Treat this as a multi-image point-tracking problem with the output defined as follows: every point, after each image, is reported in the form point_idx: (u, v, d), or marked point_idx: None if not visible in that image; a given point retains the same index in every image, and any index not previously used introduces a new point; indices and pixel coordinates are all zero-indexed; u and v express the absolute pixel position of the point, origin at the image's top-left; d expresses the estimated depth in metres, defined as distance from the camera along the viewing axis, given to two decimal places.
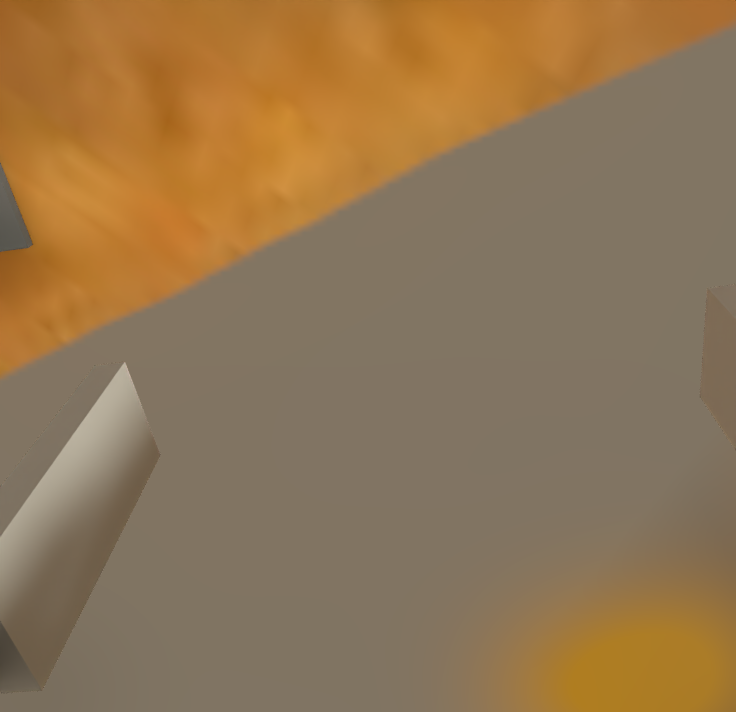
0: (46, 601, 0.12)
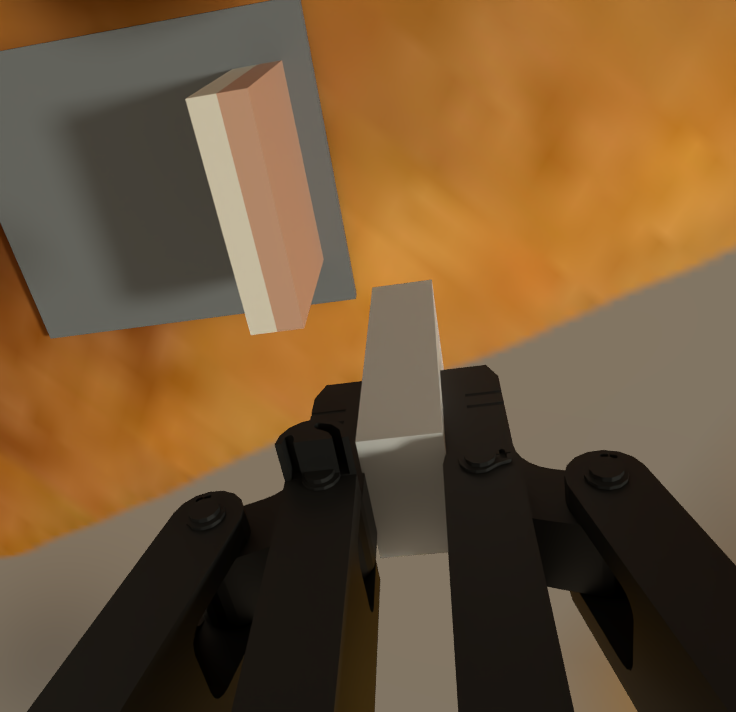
0: None
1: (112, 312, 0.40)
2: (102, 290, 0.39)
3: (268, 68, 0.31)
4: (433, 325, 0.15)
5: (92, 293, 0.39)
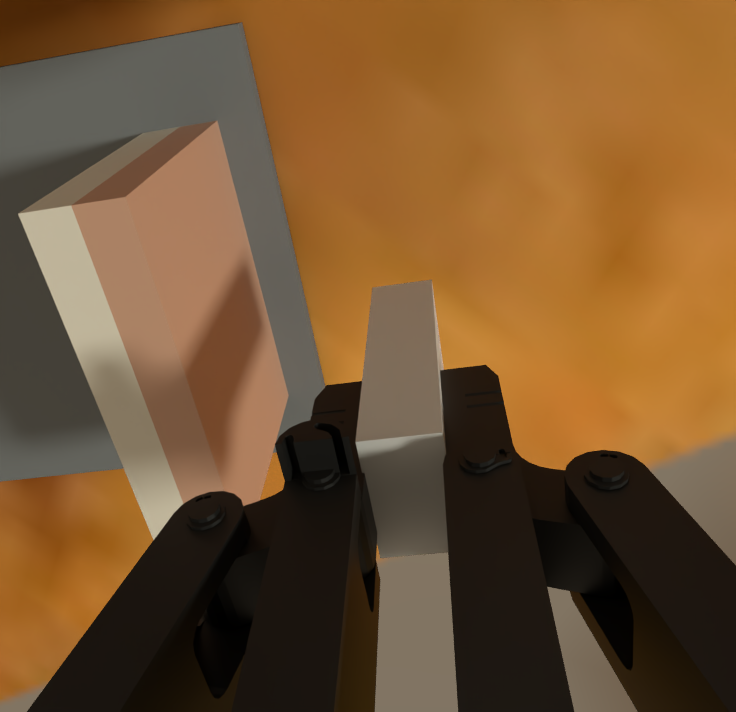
0: None
1: None
2: None
3: (188, 139, 0.19)
4: (433, 325, 0.15)
5: None
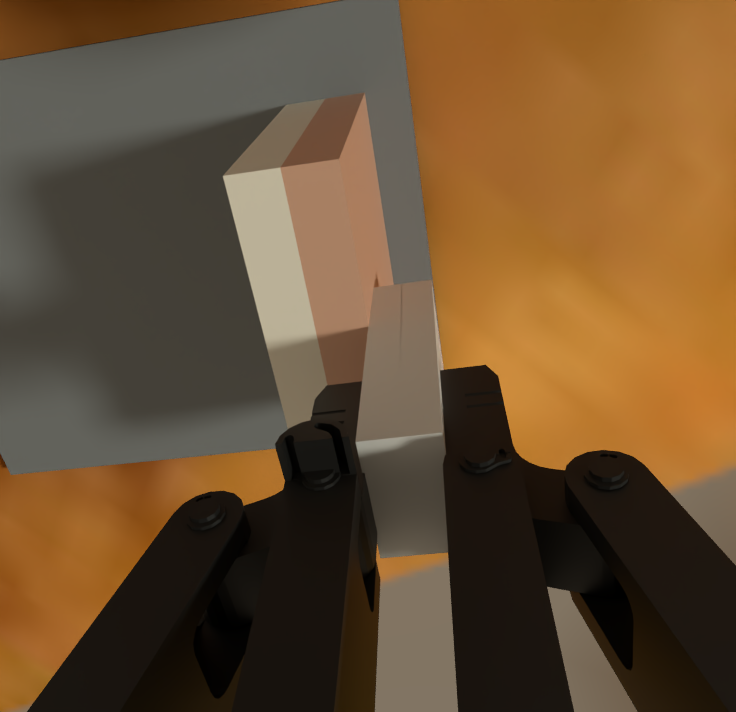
0: None
1: (98, 443, 0.28)
2: (84, 414, 0.27)
3: (351, 109, 0.19)
4: (433, 325, 0.15)
5: (69, 417, 0.27)
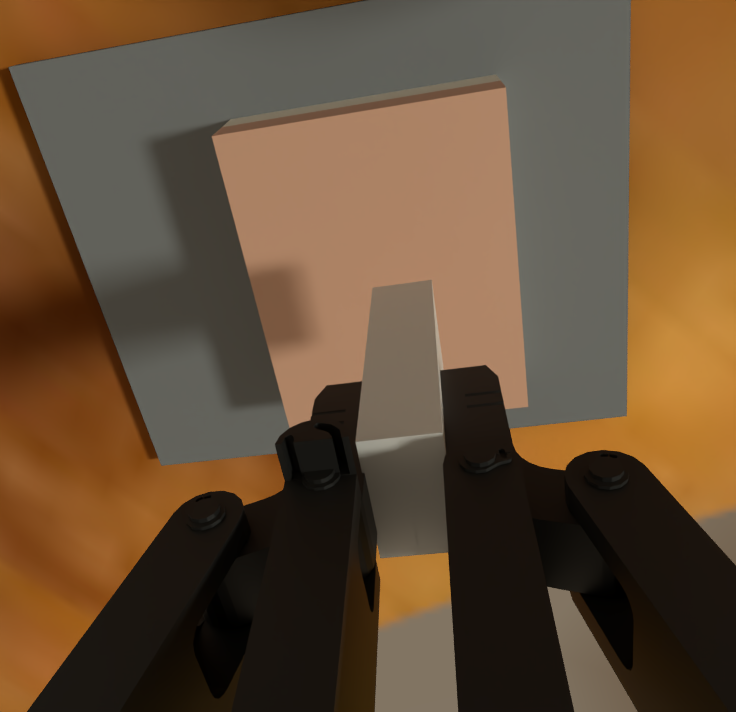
0: None
1: (256, 431, 0.27)
2: (245, 402, 0.26)
3: (410, 102, 0.19)
4: (433, 325, 0.15)
5: (229, 405, 0.27)
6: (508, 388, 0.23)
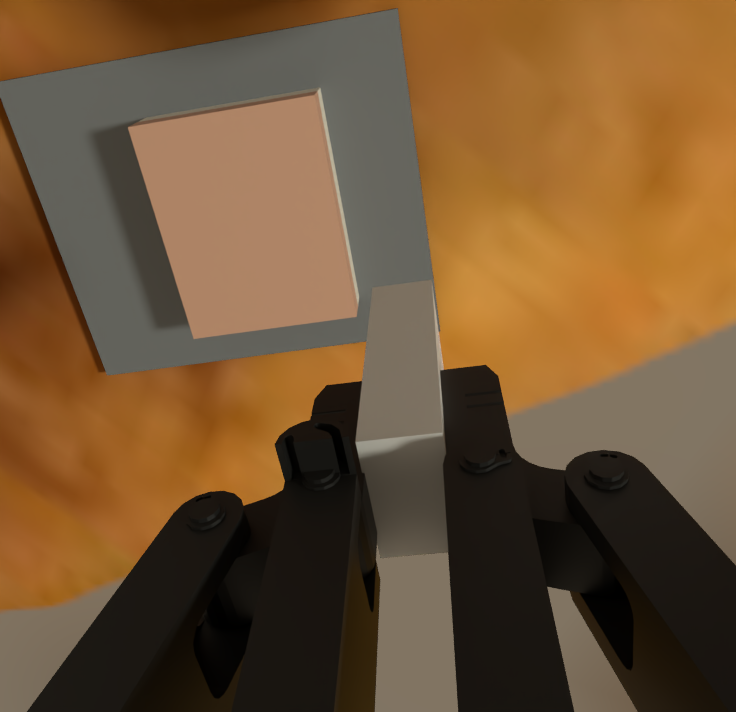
0: None
1: (175, 347, 0.37)
2: (166, 324, 0.36)
3: (255, 104, 0.29)
4: (433, 325, 0.15)
5: (155, 327, 0.37)
6: (341, 303, 0.33)
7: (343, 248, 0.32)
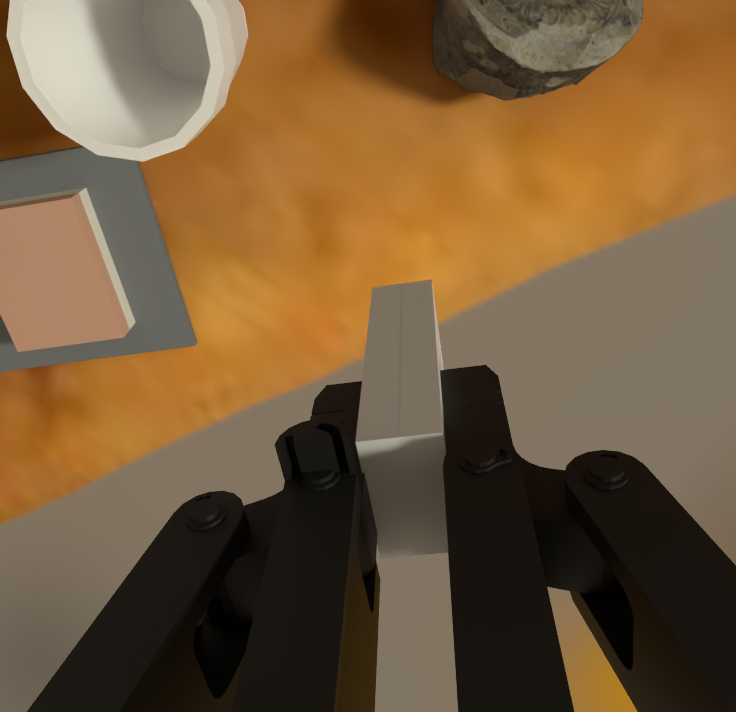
0: None
1: (16, 356, 0.53)
2: (7, 340, 0.52)
3: (35, 203, 0.45)
4: (433, 325, 0.15)
5: (0, 342, 0.53)
6: (112, 328, 0.49)
7: (107, 293, 0.48)
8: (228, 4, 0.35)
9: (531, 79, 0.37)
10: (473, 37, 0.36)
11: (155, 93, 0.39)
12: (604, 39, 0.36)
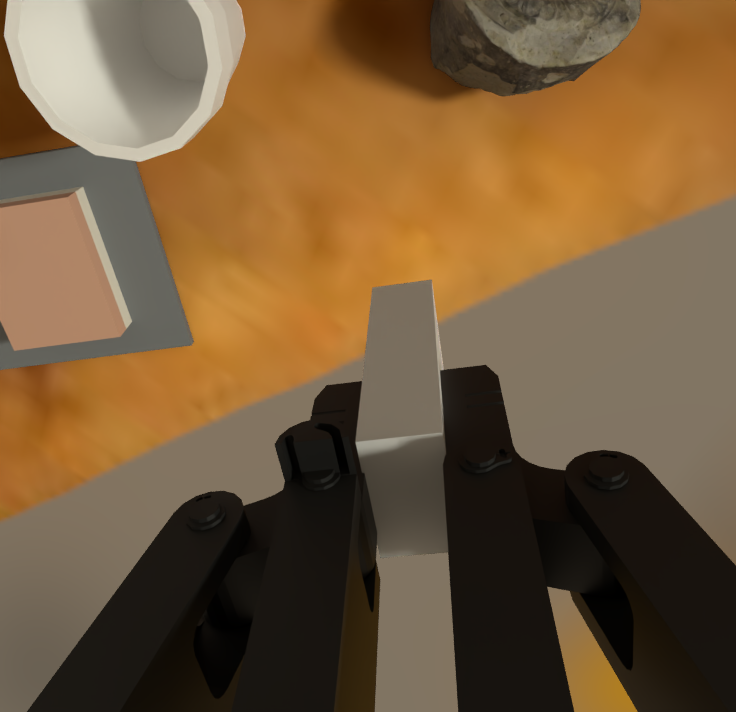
0: None
1: (12, 354, 0.53)
2: (3, 339, 0.52)
3: (31, 202, 0.45)
4: (433, 325, 0.15)
5: None
6: (108, 327, 0.49)
7: (104, 292, 0.48)
8: (226, 4, 0.35)
9: (528, 74, 0.36)
10: (470, 32, 0.36)
11: (152, 93, 0.39)
12: (601, 34, 0.36)
